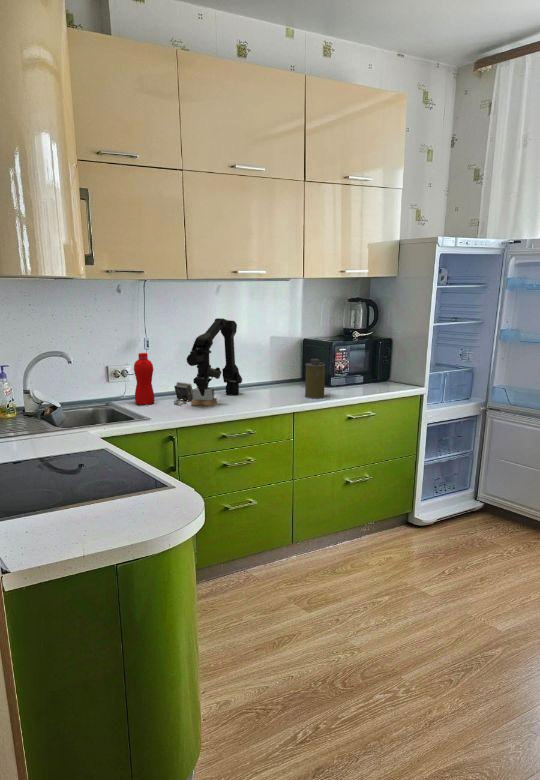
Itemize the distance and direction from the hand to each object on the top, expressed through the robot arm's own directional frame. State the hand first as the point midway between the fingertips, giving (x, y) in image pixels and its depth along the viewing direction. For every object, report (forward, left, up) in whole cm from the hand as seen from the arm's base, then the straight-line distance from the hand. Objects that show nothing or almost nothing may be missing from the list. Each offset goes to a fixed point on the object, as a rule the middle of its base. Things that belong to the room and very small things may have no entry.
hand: (204, 394), depth 269 cm
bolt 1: (+12, +3, -5) cm, 13 cm away
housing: (0, 0, -2) cm, 2 cm away
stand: (0, 0, -5) cm, 5 cm away
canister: (-54, -26, -5) cm, 60 cm away
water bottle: (+30, 0, -5) cm, 30 cm away
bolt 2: (+11, 0, -5) cm, 12 cm away
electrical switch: (+12, -8, -5) cm, 15 cm away
